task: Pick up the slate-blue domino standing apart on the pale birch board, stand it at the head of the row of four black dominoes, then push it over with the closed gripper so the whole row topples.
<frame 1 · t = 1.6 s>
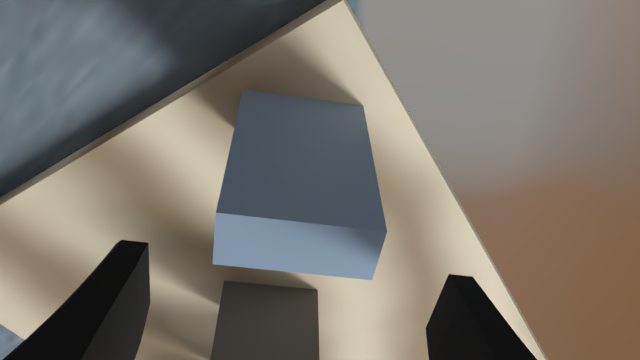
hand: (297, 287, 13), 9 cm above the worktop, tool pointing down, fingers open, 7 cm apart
board: (279, 319, 28), on the worktop
tile 2: (269, 298, 25), point 1 cm above the worktop, touching board
tile blue: (300, 119, 20), point 1 cm above the worktop, touching board
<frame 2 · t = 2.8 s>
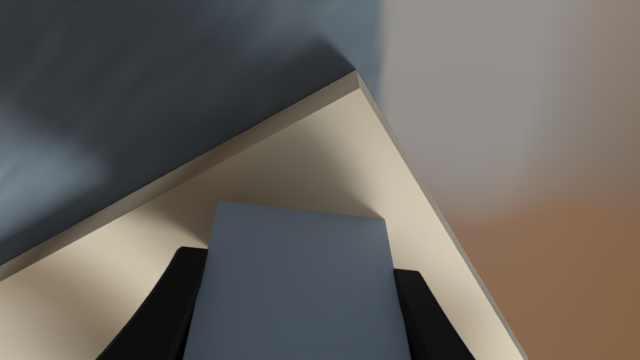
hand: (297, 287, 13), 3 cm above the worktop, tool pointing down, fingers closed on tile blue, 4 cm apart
tile blue: (298, 235, 14), point 1 cm above the worktop, touching board, gripper
when the fingers open (4 cm above the worktop, at t = 5.6 s): tile blue drops 1 cm, resting on board.
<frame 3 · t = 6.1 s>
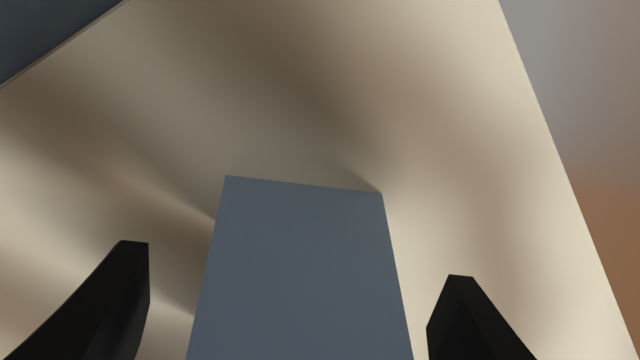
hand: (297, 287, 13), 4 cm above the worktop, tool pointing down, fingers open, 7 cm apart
board: (293, 341, 20), on the worktop
tile blue: (300, 209, 15), point 1 cm above the worktop, touching board
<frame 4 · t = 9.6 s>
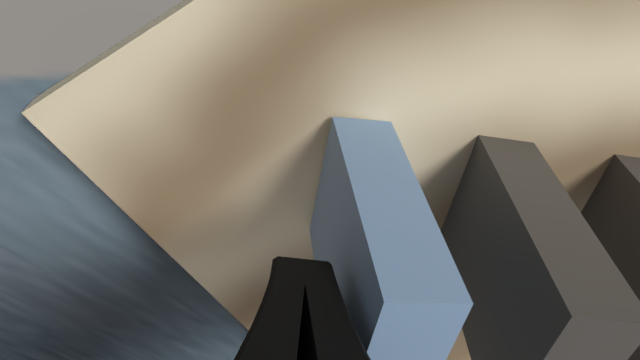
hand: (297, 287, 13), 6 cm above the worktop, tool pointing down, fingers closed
board: (556, 168, 18), on the worktop
tile 2: (481, 195, 17), point 1 cm above the worktop, touching board
tile blue: (347, 179, 17), point 1 cm above the worktop, tilted 6°, touching board
tile 3: (607, 211, 18), point 1 cm above the worktop, touching board
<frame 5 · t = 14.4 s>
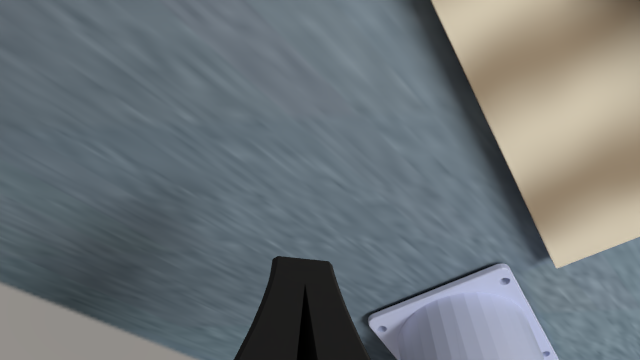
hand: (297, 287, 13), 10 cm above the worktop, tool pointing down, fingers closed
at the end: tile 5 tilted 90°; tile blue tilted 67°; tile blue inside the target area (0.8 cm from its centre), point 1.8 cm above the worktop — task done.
